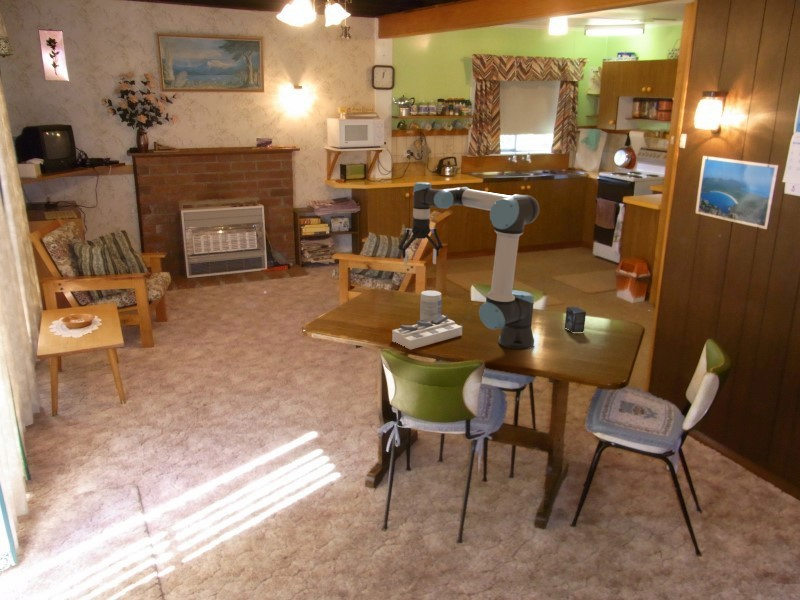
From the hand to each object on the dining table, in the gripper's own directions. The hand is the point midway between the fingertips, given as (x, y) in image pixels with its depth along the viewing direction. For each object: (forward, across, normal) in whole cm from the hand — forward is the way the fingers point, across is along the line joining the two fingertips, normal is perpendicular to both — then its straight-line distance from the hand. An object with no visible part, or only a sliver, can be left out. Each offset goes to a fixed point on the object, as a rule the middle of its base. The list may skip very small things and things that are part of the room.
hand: (419, 264), depth 313 cm
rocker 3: (+22, -6, +15) cm, 27 cm away
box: (+29, -67, +23) cm, 77 cm away
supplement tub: (+28, -5, +2) cm, 29 cm away
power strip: (+28, -1, +20) cm, 34 cm away
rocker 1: (+22, +11, +23) cm, 33 cm away
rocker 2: (+22, +2, +19) cm, 29 cm away
